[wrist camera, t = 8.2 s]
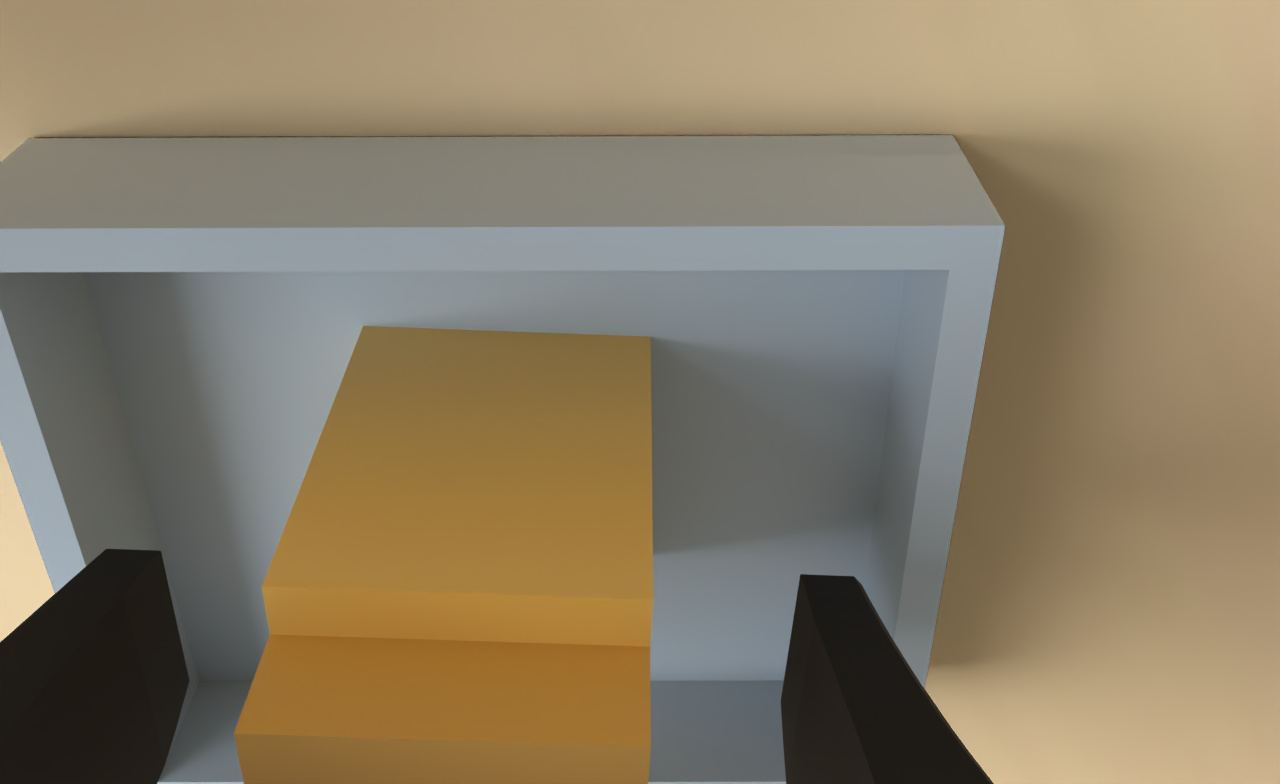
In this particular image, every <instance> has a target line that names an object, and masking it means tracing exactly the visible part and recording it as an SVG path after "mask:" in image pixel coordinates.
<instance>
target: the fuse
mask: <svg viewBox="0 0 1280 784" xmlns="http://www.w3.org/2000/svg"><path fill="white" fill-rule="evenodd" d="M262 592H263V598H264V604H265V610H266V615H267V621H268V627H269V633H270V635H269V638H268V641H267V644H266V646H265V649H264V652H263V655H262V657H261V660H260V663H259V666H258V668H257V671H256V674H255V677H254V679H253V682H252V685H251V688H250V690H249V693H248V696H247V699H246V701H245V704H244V707H243V710H242V712H241V715H240V718H239V721H238V723H237V726H236V729H235V732H234V737H235V742H236V747H237V752H238V757H239V761H240V766H241V771H242V776H243V781H244V784H648V780H649V765H650V751H651V695H650V642H651V627H652V611H653V520H652V408H651V337H646V336H619V335H592V334H565V333H539V332H512V331H485V330H458V329H431V328H404V327H378V326H363V327H362V330H361V333H360V335H359V338H358V340H357V343H356V345H355V348H354V351H353V353H352V356H351V358H350V361H349V363H348V366H347V369H346V371H345V374H344V376H343V379H342V381H341V384H340V387H339V389H338V392H337V394H336V397H335V399H334V402H333V405H332V407H331V410H330V412H329V415H328V417H327V420H326V423H325V425H324V428H323V430H322V433H321V435H320V438H319V441H318V443H317V446H316V448H315V451H314V453H313V456H312V459H311V461H310V464H309V466H308V469H307V471H306V474H305V477H304V479H303V482H302V484H301V487H300V489H299V492H298V495H297V497H296V500H295V502H294V505H293V507H292V510H291V513H290V515H289V518H288V520H287V523H286V525H285V528H284V531H283V533H282V536H281V538H280V541H279V543H278V546H277V549H276V551H275V554H274V556H273V559H272V561H271V564H270V567H269V569H268V572H267V574H266V577H265V580H264V582H263V585H262Z"/></svg>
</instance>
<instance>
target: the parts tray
mask: <svg viewBox="0 0 1280 784" xmlns="http://www.w3.org/2000/svg"><path fill="white" fill-rule="evenodd" d="M1004 231H1005V224H1004V222H1003V221H1002V219H1001V217H1000V215H999V214H998V212H997V210H996V208H995V207H994V205H993V203H992V202H991V200H990V198H989V196H988V195H987V193H986V191H985V190H984V188H983V186H982V184H981V183H980V181H979V179H978V177H977V176H976V174H975V172H974V171H973V169H972V167H971V165H970V164H969V162H968V160H967V158H966V157H965V155H964V153H963V152H962V150H961V148H960V146H959V145H958V143H957V141H956V139H955V138H954V136H953V135H829V136H538V137H247V138H29V139H28V140H26V141H25V142H24V143H23V144H22V145H21V146H19V147H18V148H17V149H16V150H15V151H14V152H13V153H11V154H10V155H9V156H8V157H7V158H6V159H5V160H3V161H2V162H1V163H0V441H1V444H2V447H3V449H4V452H5V455H6V458H7V461H8V463H9V466H10V469H11V472H12V475H13V477H14V480H15V483H16V486H17V489H18V491H19V494H20V497H21V500H22V503H23V505H24V508H25V511H26V514H27V517H28V519H29V522H30V525H31V528H32V531H33V533H34V536H35V539H36V542H37V545H38V547H39V550H40V553H41V556H42V559H43V561H44V564H45V567H46V570H47V573H48V575H49V578H50V581H51V584H52V587H53V589H54V592H55V593H56V592H58V591H59V590H60V589H61V588H62V587H63V586H64V585H65V584H67V583H68V582H69V581H70V580H71V579H72V578H73V577H74V576H76V575H77V574H78V573H79V572H80V571H81V570H82V569H84V568H85V567H86V566H87V565H88V564H89V563H90V562H92V561H93V560H94V559H95V558H96V557H97V556H99V555H100V554H101V553H102V552H103V551H104V550H105V549H130V550H157V551H161V553H162V558H163V562H164V567H165V571H166V576H167V581H168V585H169V590H170V594H171V599H172V603H173V608H174V612H175V617H176V621H177V626H178V630H179V635H180V640H181V644H182V649H183V653H184V658H185V662H186V667H187V671H188V676H189V680H190V681H189V684H188V688H187V691H186V695H185V699H184V702H183V706H182V710H181V713H180V717H179V720H178V724H177V728H176V731H175V734H174V737H173V741H172V744H171V747H170V750H169V754H168V757H167V760H166V763H165V766H164V768H163V771H162V773H161V775H160V778H159V780H158V783H157V784H244V781H243V776H242V771H241V766H240V761H239V757H238V752H237V747H236V742H235V737H234V732H235V729H236V726H237V723H238V721H239V718H240V715H241V712H242V710H243V707H244V704H245V701H246V699H247V696H248V693H249V690H250V688H251V685H252V682H253V679H254V677H255V674H256V671H257V668H258V666H259V663H260V660H261V657H262V655H263V652H264V649H265V646H266V644H267V641H268V638H269V635H270V633H269V627H268V621H267V615H266V610H265V604H264V598H263V592H262V585H263V582H264V580H265V577H266V574H267V572H268V569H269V567H270V564H271V561H272V559H273V556H274V554H275V551H276V549H277V546H278V543H279V541H280V538H281V536H282V533H283V531H284V528H285V525H286V523H287V520H288V518H289V515H290V513H291V510H292V507H293V505H294V502H295V500H296V497H297V495H298V492H299V489H300V487H301V484H302V482H303V479H304V477H305V474H306V471H307V469H308V466H309V464H310V461H311V459H312V456H313V453H314V451H315V448H316V446H317V443H318V441H319V438H320V435H321V433H322V430H323V428H324V425H325V423H326V420H327V417H328V415H329V412H330V410H331V407H332V405H333V402H334V399H335V397H336V394H337V392H338V389H339V387H340V384H341V381H342V379H343V376H344V374H345V371H346V369H347V366H348V363H349V361H350V358H351V356H352V353H353V351H354V348H355V345H356V343H357V340H358V338H359V335H360V333H361V330H362V327H363V326H378V327H404V328H431V329H458V330H485V331H512V332H539V333H565V334H592V335H619V336H646V337H651V408H652V520H653V611H652V627H651V642H650V695H651V751H650V765H649V780H648V784H786V774H785V761H784V748H783V732H782V716H781V695H782V689H783V682H784V676H785V669H786V663H787V657H788V650H789V644H790V637H791V631H792V624H793V618H794V612H795V605H796V599H797V592H798V586H799V580H800V574H807V575H834V576H854V577H855V578H856V579H857V580H858V581H859V582H860V583H861V584H862V586H863V588H864V590H865V592H866V593H867V595H868V597H869V599H870V601H871V602H872V604H873V606H874V608H875V610H876V611H877V613H878V615H879V617H880V618H881V620H882V622H883V624H884V625H885V627H886V629H887V630H888V632H889V634H890V635H891V637H892V639H893V640H894V642H895V644H896V645H897V647H898V648H899V650H900V652H901V653H902V655H903V657H904V658H905V660H906V661H907V663H908V665H909V666H910V668H911V669H912V671H913V672H914V674H915V675H916V677H917V678H918V680H919V682H920V683H921V685H922V686H923V688H924V689H925V684H926V679H927V673H928V667H929V661H930V656H931V650H932V644H933V638H934V633H935V627H936V621H937V615H938V610H939V604H940V598H941V592H942V587H943V581H944V575H945V569H946V564H947V558H948V552H949V547H950V541H951V535H952V529H953V524H954V518H955V512H956V506H957V501H958V495H959V489H960V483H961V478H962V472H963V466H964V460H965V455H966V449H967V443H968V438H969V432H970V426H971V420H972V415H973V409H974V403H975V397H976V392H977V386H978V380H979V374H980V369H981V363H982V357H983V351H984V346H985V340H986V334H987V328H988V323H989V317H990V311H991V306H992V300H993V294H994V288H995V283H996V277H997V271H998V265H999V260H1000V254H1001V248H1002V242H1003V237H1004Z"/></svg>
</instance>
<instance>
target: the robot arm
mask: <svg viewBox="0 0 1280 784" xmlns="http://www.w3.org/2000/svg"><path fill="white" fill-rule="evenodd" d="M189 681H190V680H189V676H188V671H187V667H186V662H185V658H184V653H183V649H182V644H181V640H180V635H179V630H178V626H177V621H176V617H175V612H174V608H173V603H172V599H171V594H170V590H169V585H168V581H167V576H166V571H165V567H164V562H163V558H162V553H161V551H157V550H130V549H105V550H104V551H103V552H102V553H101V554H100V555H99V556H97V557H96V558H95V559H94V560H93V561H92V562H90V563H89V564H88V565H87V566H86V567H85V568H84V569H82V570H81V571H80V572H79V573H78V574H77V575H76V576H74V577H73V578H72V579H71V580H70V581H69V582H68V583H67V584H65V585H64V586H63V587H62V588H61V589H60V590H59V591H58V592H56V593H55V594H54V595H53V596H52V597H51V598H50V599H49V600H48V601H46V602H45V603H44V604H43V605H42V606H41V607H40V608H39V609H37V610H36V611H35V612H34V613H33V614H32V615H31V616H30V617H28V618H27V619H26V620H25V621H24V622H23V623H22V624H21V625H19V626H18V627H17V628H16V629H15V630H14V631H13V632H12V633H10V634H9V635H8V636H7V637H6V638H5V639H4V640H2V641H1V642H0V784H157V783H158V780H159V778H160V775H161V773H162V771H163V768H164V766H165V763H166V760H167V757H168V754H169V750H170V747H171V744H172V741H173V737H174V734H175V731H176V728H177V724H178V720H179V717H180V713H181V710H182V706H183V702H184V699H185V695H186V691H187V688H188V684H189ZM781 716H782V732H783V748H784V761H785V774H786V784H994V783H993V782H992V781H991V780H990V778H989V777H988V776H987V774H986V773H985V772H984V771H983V769H982V768H981V767H980V765H979V764H978V763H977V762H976V760H975V759H974V758H973V756H972V755H971V754H970V753H969V751H968V750H967V749H966V747H965V746H964V744H963V743H962V742H961V740H960V739H959V738H958V736H957V735H956V734H955V732H954V731H953V730H952V728H951V727H950V725H949V724H948V722H947V721H946V719H945V718H944V717H943V715H942V714H941V712H940V711H939V709H938V708H937V706H936V705H935V704H934V702H933V701H932V699H931V698H930V696H929V695H928V693H927V692H926V690H925V689H924V688H923V686H922V685H921V683H920V682H919V680H918V678H917V677H916V675H915V674H914V672H913V671H912V669H911V668H910V666H909V665H908V663H907V661H906V660H905V658H904V657H903V655H902V653H901V652H900V650H899V648H898V647H897V645H896V644H895V642H894V640H893V639H892V637H891V635H890V634H889V632H888V630H887V629H886V627H885V625H884V624H883V622H882V620H881V618H880V617H879V615H878V613H877V611H876V610H875V608H874V606H873V604H872V602H871V601H870V599H869V597H868V595H867V593H866V592H865V590H864V588H863V586H862V584H861V583H860V582H859V581H858V580H857V579H856V578H855V577H854V576H834V575H807V574H800V580H799V586H798V592H797V599H796V605H795V612H794V618H793V624H792V631H791V637H790V644H789V650H788V657H787V663H786V669H785V676H784V682H783V689H782V695H781Z"/></svg>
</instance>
